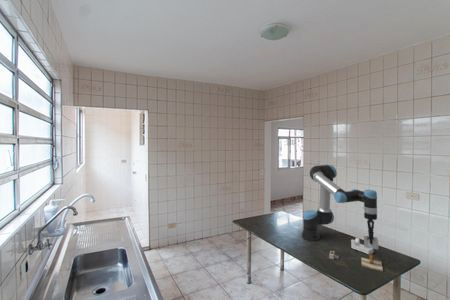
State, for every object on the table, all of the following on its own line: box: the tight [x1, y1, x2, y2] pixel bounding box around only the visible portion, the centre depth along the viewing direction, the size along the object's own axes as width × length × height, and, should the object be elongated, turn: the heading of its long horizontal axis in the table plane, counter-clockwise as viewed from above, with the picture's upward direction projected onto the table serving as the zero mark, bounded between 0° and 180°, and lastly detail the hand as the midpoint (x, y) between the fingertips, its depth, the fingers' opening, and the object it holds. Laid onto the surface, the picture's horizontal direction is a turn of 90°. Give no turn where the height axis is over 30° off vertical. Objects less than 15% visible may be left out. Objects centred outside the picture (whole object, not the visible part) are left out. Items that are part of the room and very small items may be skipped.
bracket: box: [350, 237, 374, 255], centre depth 184 cm, size 13×7×8 cm, turn 32°
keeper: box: [360, 253, 384, 272], centre depth 163 cm, size 12×12×7 cm
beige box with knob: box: [328, 250, 336, 260], centre depth 176 cm, size 6×3×4 cm, turn 151°
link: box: [363, 235, 379, 250], centre depth 163 cm, size 8×8×5 cm
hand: (370, 245), depth 163 cm, fingers closed on link, 8 cm apart
